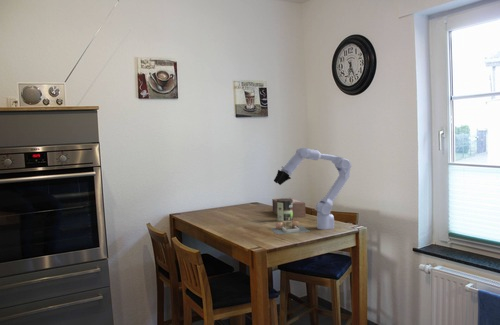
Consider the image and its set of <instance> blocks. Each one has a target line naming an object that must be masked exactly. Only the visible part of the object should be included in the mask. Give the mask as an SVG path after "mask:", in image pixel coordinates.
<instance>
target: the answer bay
mask: <svg viewBox="0 0 500 325" xmlns="http://www.w3.org/2000/svg"><path fill="white" fill-rule="evenodd" d="M282 230H283V231H285V232H286V233H287V232H299V231H300V229H299V228H298V227H296V226H294V229H288V230H286V229H285V228H284V227H282Z"/></svg>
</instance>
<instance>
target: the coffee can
mask: <svg viewBox="0 0 500 325" xmlns="http://www.w3.org/2000/svg"><path fill="white" fill-rule="evenodd" d="M277 199H278V200H277V214H276V216H277V222H283V221H291V222H292V221H294V218H293V203H292V201H293V200H292V199H280V198H277Z"/></svg>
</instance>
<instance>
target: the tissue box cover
mask: <svg viewBox="0 0 500 325" xmlns="http://www.w3.org/2000/svg"><path fill="white" fill-rule="evenodd" d="M278 199H292V200H293V201H292V203H293V219H295V218H296V219H298V218H306V202H305V201H304V202H303V201H301V200H298V199H296V198H293V197H282V198H273V199H272V200H271V201H272V202H271V204H272V213H273V212H274V214H275V213H276V214H275V215H277V200H278Z"/></svg>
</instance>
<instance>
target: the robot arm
mask: <svg viewBox="0 0 500 325" xmlns="http://www.w3.org/2000/svg"><path fill="white" fill-rule="evenodd" d="M304 159H307V160H313V161H318V160H325V161H328V162H329V161H330V162H331V163H332V164H334V166H335V168H336V170H337V171H338V177H337V178H336V180H335V181H334V183H333V184H332V186H331V187H330V189H329V191H328V192H327V193H326V195H325V197H323V198H321V200H320V201H318V202H317V203H316V204H315V211H316V212H317V213H316V224H317V225H316V227H317V229H318V230H331V229H333V230H334V229H335V218H334V217H335V216H334V215H333V213H331V212H332V208H333V203H334V201H335V199H336V198H337V197H338V195H339V194H340V192H341V190H342V189H343V188H344V185H346V183H347V182H348V180H349V178H350V174H351V168H352V164H351V161H350V160H349V159H348V158H344V157H341V156H338V155H333V154H327V153H321V152H320V150H318V149H316V148H314V149H311V148H309V147H299V148H297V149H296V151H295V154H294V155H293V156H292V157H291V158H290V159H289V160H288V161H287V163H286V164H285V165H284V166H281V169H278V170H277V173H276V176H275V177H274V179H273V181H274V182H275V183H276V184H278V185H279V186H282V185H283V184H284V183H285V182H286V181H288V180H291V179H292V177H291V175H292V174H293V172H295V170H296V169H297V168H298V167H299V165H300V164H301V163H302V161H303V160H304Z"/></svg>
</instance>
